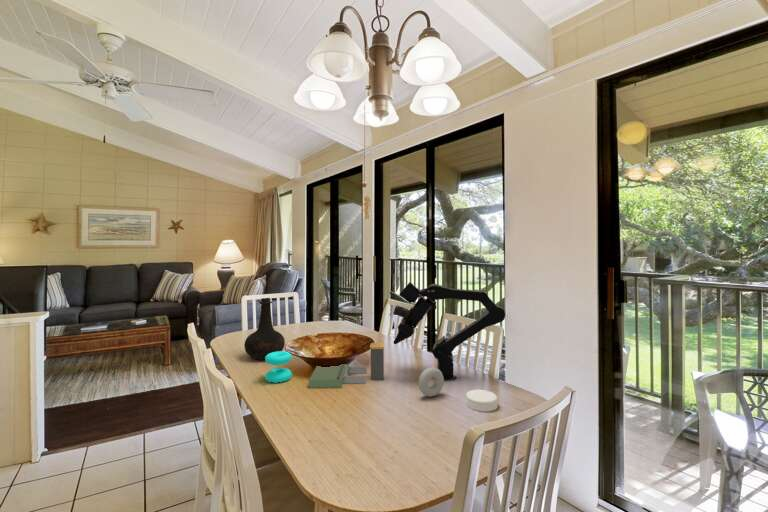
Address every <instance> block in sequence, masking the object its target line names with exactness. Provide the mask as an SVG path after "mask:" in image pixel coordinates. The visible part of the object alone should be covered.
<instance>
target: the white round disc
mask: <svg viewBox="0 0 768 512" xmlns="http://www.w3.org/2000/svg"><path fill="white" fill-rule="evenodd" d="M498 399H499V398H498V396H497V395H496V393H494V392H492V391H490V390H485V389H471V390H469V391H467V392H466V394H465V400H466V401H465V404H466V406H467V407H468V408H469V409H472V410H473V411H477V412H484V413H485V412H486V413H487V412H493V411H496V409H497V408H498V406H499V405H498V403H499V401H498Z"/></svg>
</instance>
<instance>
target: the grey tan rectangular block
mask: <svg viewBox="0 0 768 512" xmlns="http://www.w3.org/2000/svg"><path fill="white" fill-rule="evenodd" d="M384 343H385V342H383V343H378V342H377V343H376V342H375V343H372V342H371V343H370V345H369V346H370V347H369V348H370V349H369V350H370V381H384V378H385V377H384V376H385V375H384V372H385V370H384V369H385V367H384V366H385V364H384V362H385V361H384V358H385V354H384V349H385V345H384Z"/></svg>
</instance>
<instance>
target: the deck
mask: <svg viewBox="0 0 768 512" xmlns="http://www.w3.org/2000/svg"><path fill="white" fill-rule="evenodd" d="M367 367H368V366H365V365H364V366H358V365H357V366H348V363H347V364H341V365H339V366H330V367H321V366H317V365H316V367H315V368H314V371H313V372H312V373H311V376H310V378H309V379H308V388H309V387H311V388H310V389H319V388H320V389H325V388H326V389H331V388H332V389H335V388H338V389H340V388H343V385H344V384H346V385H347V384H366V375H349V374H367V373H368V372H367V371H368V370H367Z"/></svg>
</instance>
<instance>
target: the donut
mask: <svg viewBox="0 0 768 512" xmlns="http://www.w3.org/2000/svg"><path fill="white" fill-rule="evenodd" d="M432 378H433V380H434V381H433V383H432V385H429V382H430V380H431V379H432ZM444 382H445V381H444V377H443V374H442V372H441V371H440V370H439V369H437V367H435V366H434V367H431V366H430V367H428V368H426V369H424V370H423V371H422V372H421V374H420V376H419V377H418V389H419V391H420V392H421V394H422V395H424V396H426V397H429V398H430V397H432V398H433V397H435V396H437V395H438V394H440V392H441V391H442V390H443V387H444V384H445V383H444Z"/></svg>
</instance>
